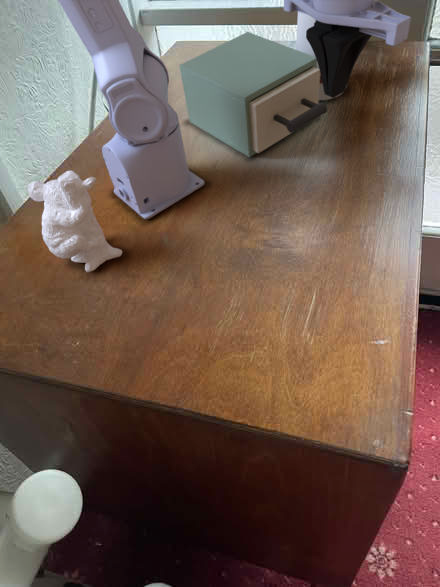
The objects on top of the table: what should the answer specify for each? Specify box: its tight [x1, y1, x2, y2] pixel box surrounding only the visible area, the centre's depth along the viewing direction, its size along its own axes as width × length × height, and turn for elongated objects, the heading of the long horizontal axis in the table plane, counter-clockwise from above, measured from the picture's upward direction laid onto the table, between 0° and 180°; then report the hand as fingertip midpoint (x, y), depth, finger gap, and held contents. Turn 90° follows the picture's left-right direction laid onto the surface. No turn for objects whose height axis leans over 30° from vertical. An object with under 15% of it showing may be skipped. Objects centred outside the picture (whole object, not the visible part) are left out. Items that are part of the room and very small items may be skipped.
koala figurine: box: [27, 170, 123, 273], centre depth 49 cm, size 8×7×12 cm
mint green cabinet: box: [178, 31, 317, 158], centre depth 65 cm, size 14×13×9 cm
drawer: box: [249, 67, 328, 154], centre depth 63 cm, size 16×11×7 cm
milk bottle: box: [296, 12, 348, 101], centre depth 64 cm, size 8×8×20 cm
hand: (334, 92), depth 53 cm, fingers closed
